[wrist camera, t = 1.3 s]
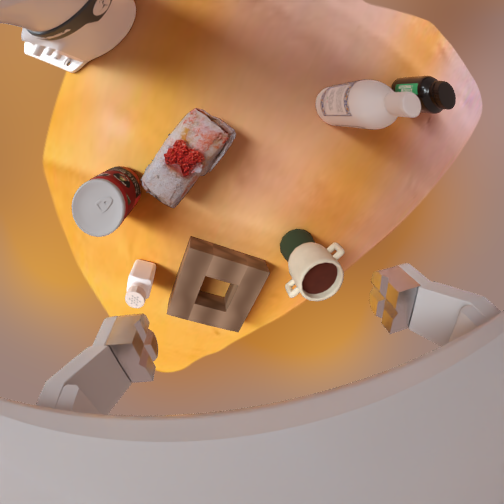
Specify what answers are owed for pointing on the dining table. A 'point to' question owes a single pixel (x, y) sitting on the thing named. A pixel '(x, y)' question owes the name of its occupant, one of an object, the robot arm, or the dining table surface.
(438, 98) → the supplement bottle
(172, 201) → the food item
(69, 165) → the dining table surface
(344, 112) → the bath foam
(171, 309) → the socket
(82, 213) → the canned food
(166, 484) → the robot arm
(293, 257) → the character mug
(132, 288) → the pepper shaker
